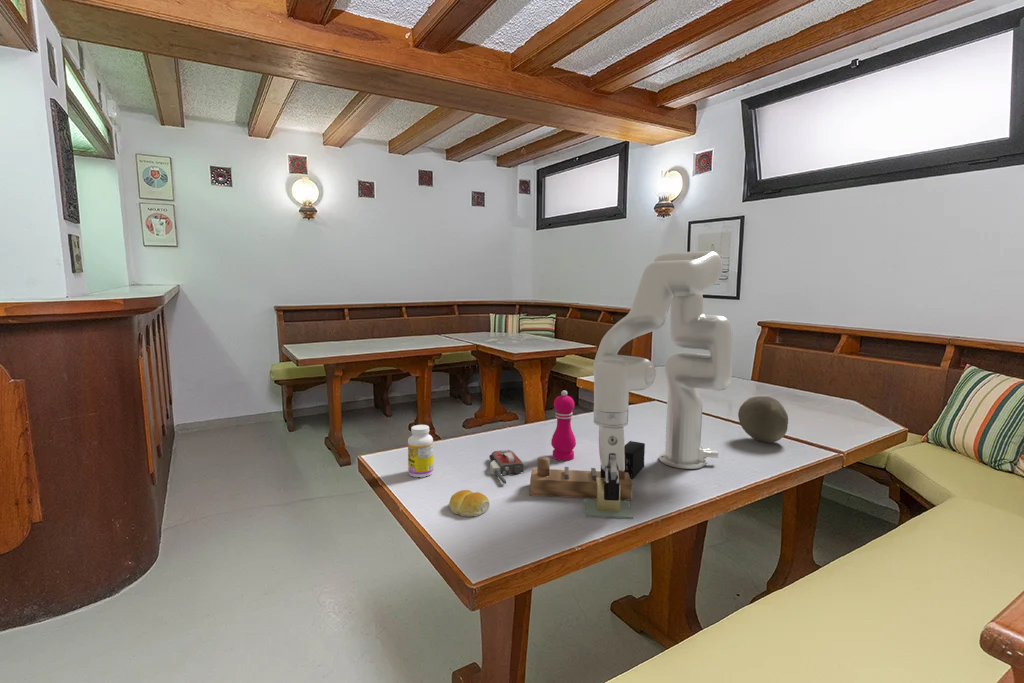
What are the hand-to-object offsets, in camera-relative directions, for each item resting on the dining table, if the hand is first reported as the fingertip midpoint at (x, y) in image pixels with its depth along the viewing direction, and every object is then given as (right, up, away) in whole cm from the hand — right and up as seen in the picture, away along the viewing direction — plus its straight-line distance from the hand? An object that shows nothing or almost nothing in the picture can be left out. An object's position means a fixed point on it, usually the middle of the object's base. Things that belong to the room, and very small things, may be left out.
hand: (609, 490), depth 111 cm
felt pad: (0, -4, 0) cm, 4 cm away
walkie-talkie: (-23, -2, +23) cm, 33 cm away
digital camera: (+10, -2, +23) cm, 25 cm away
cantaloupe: (+59, +1, +48) cm, 76 cm away
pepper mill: (-7, -1, +34) cm, 35 cm away
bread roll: (-32, -5, +1) cm, 32 cm away
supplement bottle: (-46, -2, +21) cm, 51 cm away
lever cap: (0, -4, 0) cm, 4 cm away
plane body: (-5, -3, +10) cm, 12 cm away
